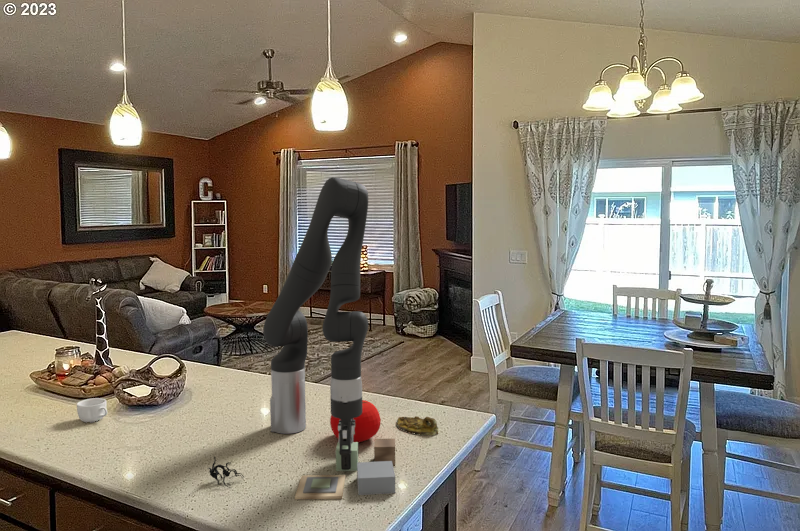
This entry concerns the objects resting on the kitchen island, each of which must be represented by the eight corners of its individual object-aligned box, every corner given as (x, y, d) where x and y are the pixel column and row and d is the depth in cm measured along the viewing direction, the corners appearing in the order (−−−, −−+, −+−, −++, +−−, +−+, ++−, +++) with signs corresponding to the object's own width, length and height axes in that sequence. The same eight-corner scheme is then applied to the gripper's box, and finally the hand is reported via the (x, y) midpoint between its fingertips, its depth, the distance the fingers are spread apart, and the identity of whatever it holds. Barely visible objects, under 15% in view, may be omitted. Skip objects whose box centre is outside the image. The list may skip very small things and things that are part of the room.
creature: (245, 477, 137) (211, 471, 137) (249, 455, 137) (215, 449, 136) (238, 493, 130) (202, 487, 129) (243, 470, 129) (207, 464, 128)
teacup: (71, 422, 170) (70, 404, 170) (94, 414, 177) (93, 396, 177) (95, 427, 166) (94, 408, 166) (118, 418, 173) (117, 400, 173)
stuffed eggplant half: (387, 430, 167) (428, 443, 157) (385, 414, 166) (426, 426, 156) (408, 417, 174) (448, 429, 164) (406, 402, 173) (447, 413, 163)
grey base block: (358, 496, 126) (358, 478, 126) (357, 479, 134) (357, 462, 134) (395, 494, 127) (395, 476, 127) (392, 477, 135) (391, 460, 135)
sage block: (335, 471, 138) (335, 450, 138) (337, 462, 143) (337, 442, 142) (357, 471, 138) (357, 450, 138) (358, 461, 143) (358, 442, 143)
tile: (294, 499, 124) (294, 494, 124) (301, 477, 134) (301, 472, 134) (342, 498, 125) (342, 493, 125) (345, 477, 135) (345, 472, 134)
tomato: (321, 436, 159) (320, 398, 158) (360, 425, 167) (360, 389, 166) (349, 453, 148) (348, 413, 147) (390, 441, 156) (390, 402, 155)
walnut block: (374, 467, 140) (374, 446, 140) (374, 458, 145) (374, 438, 145) (395, 466, 140) (395, 446, 140) (395, 458, 145) (394, 438, 145)
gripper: (333, 385, 146) (334, 450, 148) (327, 405, 132) (328, 475, 133) (363, 385, 146) (364, 449, 148) (360, 404, 132) (361, 475, 133)
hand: (347, 461), depth 140 cm, fingers open, 7 cm apart
